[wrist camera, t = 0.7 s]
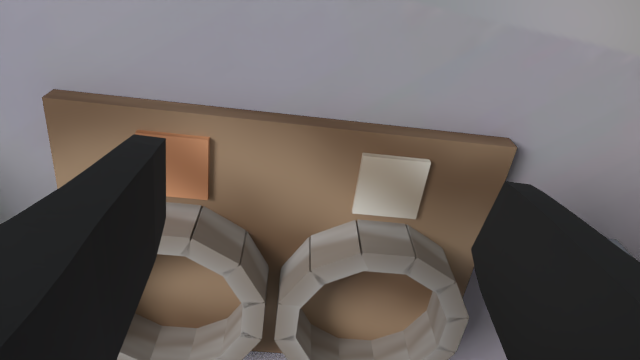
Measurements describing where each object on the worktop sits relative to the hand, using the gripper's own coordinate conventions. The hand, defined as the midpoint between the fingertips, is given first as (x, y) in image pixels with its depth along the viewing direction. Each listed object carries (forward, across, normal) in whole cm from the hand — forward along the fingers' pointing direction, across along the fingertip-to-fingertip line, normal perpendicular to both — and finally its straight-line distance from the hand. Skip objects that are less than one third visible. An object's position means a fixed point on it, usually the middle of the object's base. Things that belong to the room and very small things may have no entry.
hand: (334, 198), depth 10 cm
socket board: (+10, 0, +11) cm, 15 cm away
